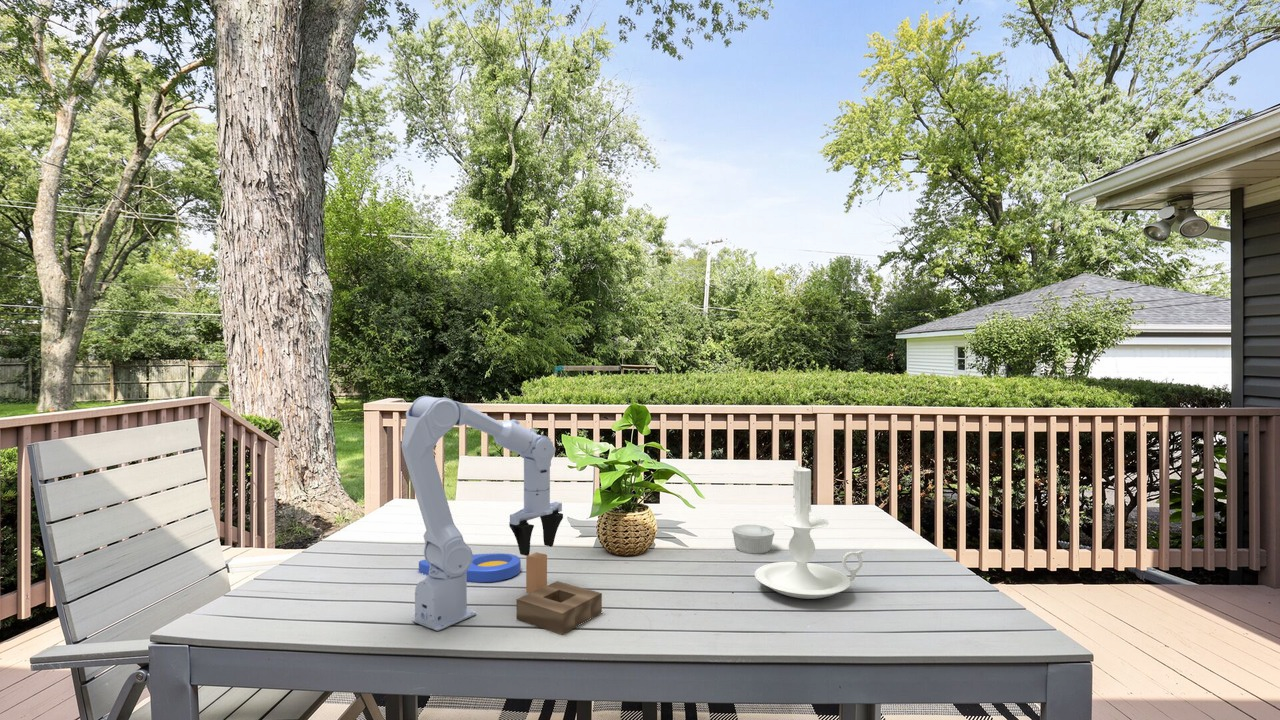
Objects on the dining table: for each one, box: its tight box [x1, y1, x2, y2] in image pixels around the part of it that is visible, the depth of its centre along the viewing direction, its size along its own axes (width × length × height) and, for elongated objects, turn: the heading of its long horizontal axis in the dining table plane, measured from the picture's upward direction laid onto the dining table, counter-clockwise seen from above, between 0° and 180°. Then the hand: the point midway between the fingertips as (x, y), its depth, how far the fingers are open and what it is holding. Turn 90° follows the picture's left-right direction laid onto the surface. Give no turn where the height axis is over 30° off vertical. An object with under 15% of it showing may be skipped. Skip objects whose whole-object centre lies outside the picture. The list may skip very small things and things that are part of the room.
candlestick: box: [754, 465, 866, 600], centre depth 136 cm, size 21×25×28 cm
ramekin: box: [731, 524, 775, 555], centre depth 167 cm, size 11×11×5 cm
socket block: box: [515, 580, 603, 635], centre depth 122 cm, size 12×12×4 cm
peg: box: [525, 551, 548, 594], centre depth 135 cm, size 3×3×8 cm
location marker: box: [418, 552, 522, 583], centre depth 148 cm, size 13×3×25 cm
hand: (536, 550), depth 135 cm, fingers open, 7 cm apart
